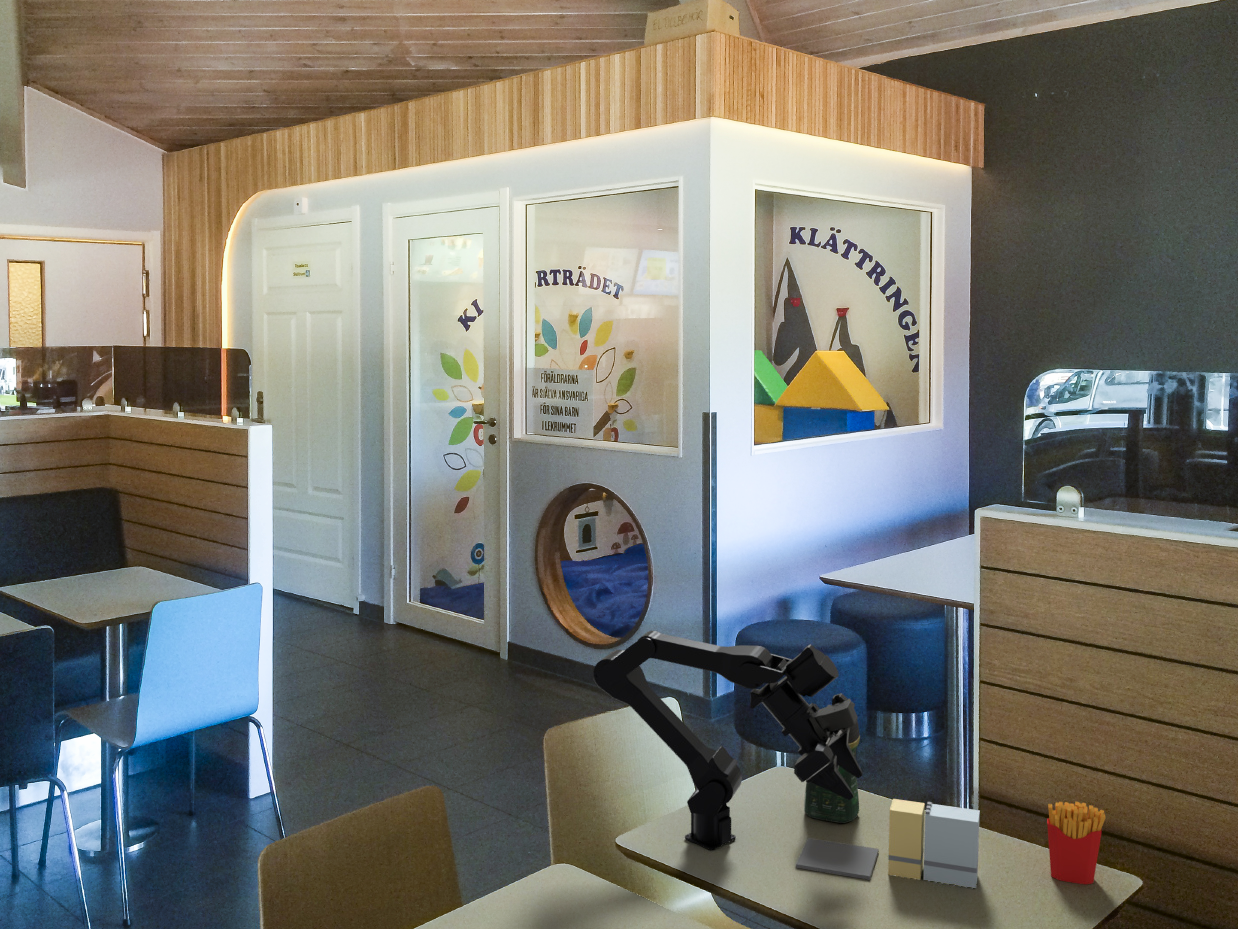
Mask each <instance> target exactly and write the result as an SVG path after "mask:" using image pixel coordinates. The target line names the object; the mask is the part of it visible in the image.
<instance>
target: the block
mask: <svg viewBox="0 0 1238 929" xmlns="http://www.w3.org/2000/svg"><path fill="white" fill-rule="evenodd" d="M925 810H926V808H925V802H918V801H911V800H906V799H905V800H903V799H897V798H893V799H892V801H891V805H890V808H889V821H888V822H889V825H888V827H889V828H888V833H889V834H888V856H887V857H888V858H887V859H888V864H887V866H888V867H887V869H888V872H887V875H888V876H892V875H896V876H895V877H898V876H902V877H901V878H904V877H907V878H906V879H910V878H916V879H920V880H921V877H922V873H923V870H924V844H925ZM916 879H915V880H916Z"/></svg>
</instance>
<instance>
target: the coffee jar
mask: <svg viewBox="0 0 1238 929" xmlns="http://www.w3.org/2000/svg"><path fill="white" fill-rule="evenodd" d="M846 729H847V728H846ZM846 729H845V730H846ZM845 730H842V729H841V731H842V732H843V731H845ZM860 739H861V735H860V729H859V723H858V719H857V720H856V721H855V725H854V726H852V727H850V728H849V737H848V744H849V746H850V748H851V750H852V753H853V755H854V757H855V759H856V755H857V754H856V753H857V748H858V747H859V746H858V745H859V743H860ZM856 760H857V759H856ZM836 768H837V770H838V771H839V773H840V774H841V776H842V777H843V779H844V780H845V782H846V783H847V785H848V786H849V788H850V789H851V791H852V793H853V794H854V797H853V798H852V799H851V800H848V799H845V798H843V797H841V796H839V795H837V794H835V793H833V792H831V791H829V790H827V789H824V788H822V787H820V786H817V785H815V784H812V783H807V782H806V781H805V782H806V783H805V792H804V802H803V804H804V805H803V806H804V807H803V808H804V809H803V810H804V813H805V814H806V815H807V816H808V817H811V818H812V819H813V818H814V819H817V820H820V821H826V822H833V823H840V824H844V823H845V824H846V823H849V822H851V821H853V820H855V819H856V818H857V817H858V815H859V812H860V800H859V791H858V790H859V789H858V788H859V787H858V780H857V779H858V778H857V777H855V776H853V775H852V774H850V773H849V772H847V771H846V770H844V769H843V768H841V767H840V766H839V765H837V764H836Z"/></svg>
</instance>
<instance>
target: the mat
mask: <svg viewBox="0 0 1238 929" xmlns="http://www.w3.org/2000/svg"><path fill="white" fill-rule="evenodd" d="M879 850H880V848H875V847H869V846H863V845H857V844H856V845H855V844H852V843H851V844H850V843H843V842H837V841H831V840H823V839H816V838H811V837H807V839H806V841H805V843H804V845H803V847H802V850H801V852H800V853H799V856H798V858H797V861H796V863H795V868H796V869H801V870H802V869H803V870H806V871H807V870H809V871H815V872H820V873H827V874H833V875H839V876H844V877H845V876H846V877H851V878H856V879H863V880H870V881H871V878H872V875H873V871H874V868H875V866H876V861H877V858H878V856H879V853H878V852H879Z"/></svg>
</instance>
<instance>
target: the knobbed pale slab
mask: <svg viewBox="0 0 1238 929" xmlns="http://www.w3.org/2000/svg"><path fill="white" fill-rule="evenodd" d="M980 811H981V810H978V809H973V808H972V809H971V808H966V807H964V808H963V807H955V806H949V805H943V804H942V805H941V804H936V803H935V804H934V803H933V802H932V801H927V805H926V808H925V812H924V847H923V848H924V852H923V881H924V880H928V881H927V882H930V881H935V882H934V883H937V882H941V883H940V884H943V883H948V884H947V885H949V884H956V885H959V886H958V887H961V886H965V887H964V888H967V887H972V888H971V889H973V888H976V889H977V885H976V884H978V877H977V876H979V875H978V873H979V872H978V871H979V849H980V848H979V840H980V839H979V838H980V814H981V813H980Z"/></svg>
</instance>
